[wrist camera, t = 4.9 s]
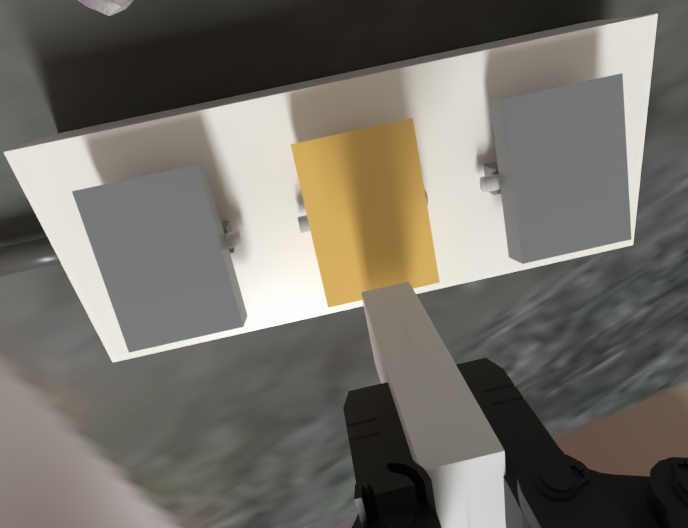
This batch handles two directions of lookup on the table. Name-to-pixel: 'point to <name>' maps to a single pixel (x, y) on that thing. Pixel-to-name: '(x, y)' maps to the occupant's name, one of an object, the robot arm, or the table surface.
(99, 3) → the geode
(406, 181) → the amber rocker
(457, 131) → the white rocker switch box
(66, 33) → the table surface
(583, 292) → the table surface
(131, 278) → the block
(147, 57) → the table surface
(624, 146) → the block
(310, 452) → the table surface
